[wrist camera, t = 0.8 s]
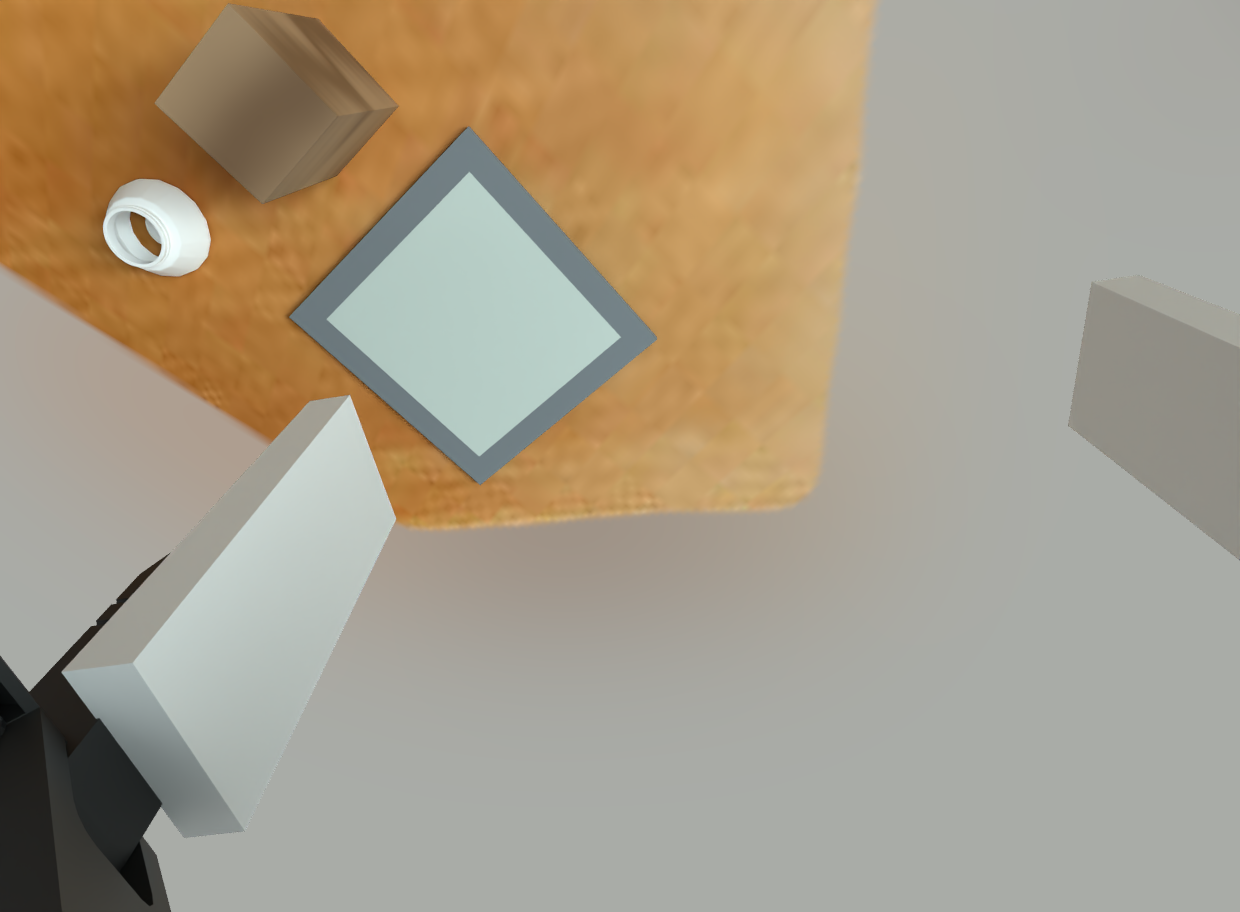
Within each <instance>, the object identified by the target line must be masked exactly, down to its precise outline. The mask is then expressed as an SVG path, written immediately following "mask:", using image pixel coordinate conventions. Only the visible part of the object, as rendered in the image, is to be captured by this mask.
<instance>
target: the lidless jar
mask: <svg viewBox="0 0 1240 912" xmlns="http://www.w3.org/2000/svg"><path fill="white" fill-rule="evenodd" d="M131 212H135V213H138V214H140V215H142V216H143V217H145V218H146V220H145V224H146V228H147V230H148V232H149V234H150V235H151V237H152V238H153V239H154V240H155V241H157V242H158V243H160V244H161V245H162V247H161V252H160V255H159V256H156V255H153V254H152V253H151V252H150V251H148V250H147V249H146V248H145V247H144V246H142V245H141V243H140V242H139V240H138V239H137V237H136V236H135V234H134V233H133V229H132V226H131V222H130V213H131ZM103 233H104V237H105V240H106V242H107V244H108V246H109V247H110V249H111V250H112V251H113V253H114V254H115V255H116V256H117V257H119V258H120V259H121V260H123V261H124V262H126V263H127V264H129V265H131V266H136V267H139V268H141V269H144V270H146V271H149V272H152V273H155V274H158V275H161V276H182V275H184V274H187V273H189V272H192V271H194V270H196V269H198V268H199V267H200V266H201V264H202V263H203V262H204V261H205V259H206V258H207V257H208V253H209V247H210V242H211V238H210V234H209V229H208V225H207V221H206V219H205V218H204V216H203V214H202V213H201V211H200V210H199V208H198V206H197V205H196V203H195V202H194V201H193V200H192V199H190V198H189V197H188V196H187V195H186V194H185V193H183V192H182V191H181V190H180V189H179V188H177V187H175V186H172V185H170V184H168V183H165V182H163V181H161V180H154V179H137V180H134V181H132V182H130V183H127V184H125V185H123V186H120V187H119V189H118V190H117V192H116V193H115V194H114V196H113V197H112V199H111V200H110V203H109V206H108V209H107V212H106V217H105V220H104V223H103Z"/></svg>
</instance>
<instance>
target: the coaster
mask: <svg viewBox="0 0 1240 912" xmlns="http://www.w3.org/2000/svg"><path fill="white" fill-rule="evenodd" d="M289 317H290V318H291V319H292V320H293V321H294V322H295V323H296V324H298V325H299V326H300V327H301V328H302V329H303V330H304V331H306V332H307V333H308V334H309V335H310V336H311V337H312V338H314V339H315V340H316V341H317V342H318V343H319V344H320V345H322V346H323V347H324V348H325V349H326V350H327V351H328V352H329V353H331V354H332V355H333V356H334V357H335V358H336V359H337V360H339V361H340V362H341V363H342V364H343V365H344V366H345V367H347V368H348V369H349V370H350V371H351V372H352V373H353V374H355V375H356V376H357V377H358V378H359V379H360V380H361V381H362V382H364V383H365V384H366V385H367V386H368V387H369V388H370V389H372V390H373V391H374V392H375V393H376V394H377V395H378V396H380V397H381V398H382V399H383V400H384V401H385V402H386V403H388V404H389V405H390V406H391V407H392V408H393V409H394V410H395V411H397V412H398V413H399V414H400V415H401V416H402V417H403V418H405V419H406V420H407V421H408V422H409V423H410V424H411V425H413V426H414V427H415V428H416V429H417V430H418V431H419V432H421V433H422V434H423V435H424V436H425V437H426V438H427V439H428V440H430V441H431V442H432V443H433V444H434V445H435V446H436V447H438V448H439V449H440V450H441V451H442V452H443V453H444V454H446V455H447V456H448V457H449V458H450V459H451V460H452V461H454V462H455V463H456V464H457V465H458V466H459V467H460V468H461V469H463V470H464V471H465V472H466V473H467V474H468V475H469V476H471V477H472V478H473V479H474V480H475V481H476V482H477V483H479V484H480V485H481V484H482V483H483V482H484V481H486V480H487V479H488V478H489V477H491V476H492V475H493V474H494V473H495V472H497V471H498V470H499V469H500V468H501V467H503V466H504V465H505V464H506V463H508V462H509V461H510V460H511V459H512V458H514V457H515V456H516V455H517V454H518V453H520V452H521V451H522V450H523V449H525V448H526V447H527V446H528V445H529V444H531V443H532V442H533V441H534V440H535V439H537V438H538V437H539V436H540V435H542V434H543V433H544V432H545V431H546V430H548V429H549V428H550V427H551V426H552V425H554V424H555V423H556V422H557V421H559V420H560V419H561V418H562V417H563V416H565V415H566V414H567V413H568V412H569V411H571V410H572V409H573V408H574V407H576V406H577V405H578V404H579V403H580V402H582V401H583V400H584V399H585V398H586V397H588V396H589V395H590V394H591V393H593V392H594V391H595V390H596V389H597V388H599V387H600V386H601V385H602V384H603V383H605V382H606V381H607V380H608V379H610V378H611V377H612V376H613V375H614V374H616V373H617V372H618V371H619V370H620V369H622V368H623V367H624V366H625V365H627V364H628V363H629V362H630V361H631V360H633V359H634V358H635V357H636V356H637V355H639V354H640V353H641V352H642V351H644V350H645V349H646V348H647V347H648V346H650V345H651V344H652V343H653V342H654V341H656V340H657V337H656V336H655V334H654V333H653V332H652V331H651V330H650V329H649V328H648V327H647V325H646V324H645V323H644V322H643V321H642V320H641V319H640V318H639V317H638V315H637V314H636V313H635V312H634V311H633V310H632V309H631V308H630V306H629V305H628V304H627V303H626V302H625V301H624V300H623V299H622V297H621V296H620V295H619V294H618V293H617V292H616V291H615V290H614V288H613V287H612V286H611V285H610V284H609V283H608V282H607V281H606V279H605V278H604V277H603V276H602V275H601V274H600V273H599V272H598V270H597V269H596V268H595V267H594V266H593V265H592V264H591V263H590V261H589V260H588V259H587V258H586V257H585V256H584V255H583V254H582V253H581V251H580V250H579V249H578V248H577V247H576V246H575V245H574V244H573V242H572V241H571V240H570V239H569V238H568V237H567V236H566V235H565V233H564V232H563V231H562V230H561V229H560V228H559V227H558V226H557V224H556V223H555V222H554V221H553V220H552V219H551V218H550V217H549V215H548V214H547V213H546V212H545V211H544V210H543V209H542V208H541V206H540V205H539V204H538V203H537V202H536V201H535V200H534V199H533V197H532V196H531V195H530V194H529V193H528V192H527V191H526V190H525V189H524V187H523V186H522V185H521V184H520V183H519V182H518V181H517V180H516V178H515V177H514V176H513V175H512V174H511V173H510V172H509V171H508V169H507V168H506V167H505V166H504V165H503V164H502V163H501V162H500V160H499V159H498V158H497V157H496V156H495V155H494V154H493V153H492V151H491V150H490V149H489V148H488V147H487V146H486V145H485V144H484V142H483V141H482V140H481V139H480V138H479V137H478V136H477V135H476V133H475V132H474V131H473V130H472V129H471V128H470V127H467V129H466V130H465V131H464V132H463V133H462V134H461V135H460V136H459V137H458V138H457V139H456V140H455V141H454V142H453V143H452V144H451V146H450V147H449V148H448V149H447V150H446V151H445V152H444V153H443V154H442V155H441V156H440V157H439V158H438V159H437V160H436V161H435V163H434V164H433V165H432V166H431V167H430V168H429V169H428V170H427V171H426V172H425V173H424V174H423V175H422V176H421V177H420V178H419V179H418V181H417V182H416V183H415V184H414V185H413V186H412V187H411V188H410V189H409V190H408V191H407V192H406V193H405V194H404V195H403V196H402V198H401V199H400V200H399V201H398V202H397V203H396V204H395V205H394V206H393V207H392V208H391V209H390V210H389V211H388V212H387V213H386V215H385V216H384V217H383V218H382V219H381V220H380V221H379V222H378V223H377V224H376V225H375V226H374V227H373V228H372V229H371V230H370V232H369V233H368V234H367V235H366V236H365V237H364V238H363V239H362V240H361V241H360V242H359V243H358V244H357V245H356V246H355V247H354V249H353V250H352V251H351V252H350V253H349V254H348V255H347V256H346V257H345V258H344V259H343V260H342V261H341V262H340V263H339V264H338V265H337V267H336V268H335V269H334V270H333V271H332V272H331V273H330V274H329V275H328V276H327V277H326V278H325V279H324V280H323V281H322V282H321V284H320V285H319V286H318V287H317V288H316V289H315V290H314V291H313V292H312V293H311V294H310V295H309V296H308V297H307V298H306V299H305V301H304V302H303V303H302V304H301V305H300V306H299V307H298V308H297V309H296V310H295V311H294V312H293V313H292V314H291V315H290V316H289Z"/></svg>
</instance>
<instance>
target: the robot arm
mask: <svg viewBox="0 0 1240 912" xmlns="http://www.w3.org/2000/svg"><path fill="white" fill-rule="evenodd" d="M1068 426H1069V427H1071V428H1072V429H1073V430H1074V431H1076V432H1077V433H1078V434H1080V435H1081V436H1082V437H1083V438H1085V439H1086V440H1087V441H1088V442H1090V443H1091V444H1092V445H1093V446H1095V447H1096V448H1097V449H1099V450H1100V451H1101V452H1103V453H1104V454H1105V455H1106V456H1107V457H1109V458H1110V459H1111V460H1113V461H1114V462H1115V463H1116V464H1118V465H1119V466H1120V467H1121V468H1123V469H1124V470H1125V471H1127V472H1128V473H1129V474H1130V475H1132V476H1133V477H1134V478H1136V479H1137V480H1138V481H1139V482H1141V483H1142V484H1143V485H1144V486H1146V487H1147V488H1148V489H1150V490H1151V491H1152V492H1153V493H1155V494H1156V495H1157V496H1158V497H1160V498H1161V499H1162V500H1164V501H1165V502H1166V503H1167V504H1169V505H1170V506H1171V507H1172V508H1174V509H1175V510H1176V511H1178V512H1179V513H1180V514H1181V515H1183V516H1184V517H1186V519H1188V520H1189V521H1190V522H1192V523H1193V524H1194V525H1196V526H1197V527H1198V528H1199V529H1200V530H1202V531H1203V532H1204V533H1206V534H1207V535H1208V536H1209V537H1211V538H1212V539H1214V540H1215V541H1216V542H1217V543H1218V544H1220V545H1221V546H1222V547H1223V548H1225V549H1226V550H1227V551H1229V552H1230V553H1231V554H1232V555H1234V556H1235V557H1236V558H1237V559H1239V560H1240V314H1237V313H1235V312H1232V311H1230V310H1227V309H1224V308H1222V307H1219V306H1217V305H1214V304H1212V303H1209V302H1206V301H1204V300H1201V299H1199V298H1196V297H1194V296H1191V295H1189V294H1186V293H1184V292H1181V291H1178V290H1176V289H1173V288H1171V287H1168V286H1166V285H1163V284H1161V283H1158V282H1155V281H1153V280H1150V279H1148V278H1145V277H1143V276H1140V275H1134V276H1128V277H1121V278H1114V279H1108V280H1101V281H1095V282H1092V283H1091V290H1090V296H1089V302H1088V308H1087V314H1086V320H1085V326H1084V332H1083V339H1082V344H1081V351H1080V356H1079V362H1078V368H1077V375H1076V381H1075V387H1074V393H1073V399H1072V405H1071V411H1070V417H1069V423H1068ZM395 521H396V517H395V515H394V512H393V509H392V507H391V504H390V501H389V499H388V496H387V493H386V491H385V488H384V485H383V483H382V480H381V477H380V475H379V472H378V469H377V467H376V464H375V461H374V459H373V456H372V453H371V451H370V448H369V445H368V443H367V440H366V437H365V434H364V432H363V429H362V426H361V424H360V421H359V418H358V416H357V413H356V410H355V408H354V405H353V402H352V400H351V397H350V395H347V396H341V397H334V398H328V399H321V400H315V401H309V403H308V404H307V405H306V406H305V407H304V408H303V409H302V410H301V411H300V412H299V413H298V415H297V416H296V417H295V418H294V419H293V420H292V421H291V422H290V423H289V424H288V425H287V427H286V428H285V429H284V430H283V431H282V432H281V433H280V434H279V435H278V436H277V437H276V439H275V440H274V441H273V442H272V443H271V444H270V445H269V446H268V447H267V448H266V450H265V451H264V452H263V453H262V454H261V455H260V456H259V457H258V458H257V459H256V461H254V463H253V464H252V465H251V466H250V467H249V468H248V469H247V470H246V471H245V472H244V473H243V475H242V476H241V477H240V478H239V479H238V480H237V481H236V482H235V483H234V485H232V487H231V488H230V489H229V490H228V491H227V492H226V493H225V494H224V495H223V496H222V497H221V499H220V500H219V501H218V502H217V503H216V504H215V505H214V506H213V507H212V508H211V509H210V511H209V512H208V513H207V514H206V515H205V516H204V517H203V518H202V519H201V520H200V521H199V523H198V524H197V525H196V526H195V527H194V528H193V529H192V530H191V531H190V532H189V533H188V534H187V536H186V537H185V538H184V539H183V540H182V541H181V542H180V543H179V544H178V545H177V546H176V548H175V549H174V550H173V551H172V552H171V553H169V554H168V555H166V556H165V557H164V558H162V559H161V560H159V561H158V562H156V563H155V564H154V565H152V566H151V567H149V568H148V569H147V570H145V571H144V572H142V573H141V574H140V575H139V576H138V577H137V578H136V579H135V580H134V581H133V582H132V583H131V584H130V585H129V586H128V588H127V589H126V590H125V591H124V592H123V593H122V594H121V595H120V596H119V597H118V598H117V604H113V605H111V606H110V607H109V608H108V609H107V610H106V611H105V612H104V613H103V614H102V615H101V616H100V617H99V619H97V620H96V622H97V625H96V626H91V627H90V628H89V629H88V630H87V631H86V632H85V633H84V634H83V635H82V636H81V638H80V639H79V640H78V641H77V642H76V643H75V644H74V645H73V646H72V647H71V648H70V649H69V650H68V651H67V652H66V653H65V655H64V656H63V657H62V658H61V659H60V660H59V661H58V662H57V663H56V664H55V665H54V666H53V667H52V668H51V669H50V671H49V672H48V673H47V674H46V675H45V676H44V677H43V678H42V679H41V680H40V681H39V682H38V683H37V684H36V686H34V688H33V689H32V690H31V691H30V692H28V690H27V689H26V688H25V687H24V685H23V684H22V683H21V681H20V680H19V679H18V678H17V676H16V675H15V674H14V673H13V671H12V670H11V669H10V668H9V666H8V665H7V664H6V662H5V661H4V660H3V659H2V657H1V656H0V912H171V910H170V906H169V902H168V898H167V894H166V890H165V887H164V883H163V879H162V875H161V871H160V867H159V863H158V859H157V855H156V854H155V852H154V851H153V850H152V848H151V847H150V846H149V845H148V843H147V842H146V840H145V839H144V838H143V837H142V836H143V834H144V833H145V831H146V830H147V828H148V827H149V825H150V823H151V821H152V820H153V818H154V817H155V815H156V813H157V812H158V810H159V809H160V807H162V808H163V810H164V811H165V813H166V814H167V815H168V817H169V818H170V819H171V821H172V822H173V823H174V825H175V826H176V828H177V829H178V830H179V832H180V833H181V834H182V836H183V837H184V838H187V837H196V836H206V835H214V834H224V833H232V832H242V831H245V830H246V828H247V826H248V824H249V822H250V820H251V818H252V816H253V813H254V812H255V809H256V807H257V805H258V803H259V801H260V799H261V797H262V795H263V793H264V791H265V789H266V787H267V785H268V783H269V780H270V779H271V776H272V774H273V772H274V770H275V768H276V766H277V764H278V762H279V760H280V758H281V756H282V754H283V752H284V750H285V747H286V745H287V743H288V741H289V739H290V737H291V735H292V733H293V731H294V729H295V727H296V725H297V723H298V721H299V719H300V717H301V714H302V712H303V710H304V708H305V706H306V704H307V702H308V700H309V698H310V696H311V694H312V692H313V690H314V688H315V686H316V684H317V682H318V679H319V677H320V675H321V673H322V671H323V669H324V667H325V665H326V663H327V661H328V659H329V657H330V655H331V653H332V651H333V648H334V646H335V644H336V642H337V640H338V638H339V636H340V634H341V632H342V630H343V628H344V626H345V624H346V622H347V620H348V618H349V615H350V613H351V611H352V609H353V607H354V605H355V603H356V601H357V599H358V597H359V595H360V593H361V591H362V588H363V586H364V585H365V582H366V580H367V578H368V576H369V574H370V572H371V570H372V568H373V566H374V564H375V562H376V560H377V558H378V556H379V554H380V551H381V549H382V547H383V545H384V543H385V541H386V539H387V537H388V535H389V533H390V530H391V529H392V527H393V525H394V523H395Z"/></svg>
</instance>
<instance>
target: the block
mask: <svg viewBox="0 0 1240 912" xmlns="http://www.w3.org/2000/svg"><path fill="white" fill-rule="evenodd" d="M155 104H156V105H157V106H158V107H159V108H160V109H161V110H162V111H163V112H164V113H165V114H166V115H167V116H168V117H170V118H171V119H172V120H173V121H174V122H175V123H176V124H177V125H178V126H179V127H180V128H181V129H182V130H183V131H185V132H186V133H187V134H188V135H189V136H190V137H191V138H192V139H193V140H194V141H195V142H196V143H197V144H198V145H200V146H201V147H202V148H203V149H204V150H205V151H206V152H207V153H208V154H209V155H210V156H211V157H212V158H213V159H215V160H216V161H217V162H218V163H219V164H220V165H221V166H222V167H223V168H224V169H225V170H226V171H227V172H228V173H230V174H231V175H232V176H233V177H234V178H235V179H236V180H237V181H238V182H239V183H240V184H241V185H242V186H243V187H245V188H246V189H247V190H248V191H249V192H250V193H251V194H252V195H253V196H254V197H255V198H256V199H257V200H259V201H260V202H261V203H262V204H264V203H266V202H269V201H272V200H274V199H277V198H280V197H282V196H285V195H287V194H290V193H293V192H295V191H298V190H301V189H303V188H306V187H309V186H311V185H314V184H316V183H319V182H322V181H324V180H327V179H330V178H332V177H335V176H337V175H338V174H339V173H340V172H341V171H342V169H343V168H344V167H345V166H346V165H347V164H348V163H349V162H350V160H351V159H352V158H353V157H354V156H355V155H356V154H357V153H358V151H359V150H360V149H361V148H362V147H363V146H364V145H365V144H366V142H367V141H368V140H369V139H370V138H371V137H372V136H373V135H374V133H375V132H376V131H377V130H378V129H379V128H380V127H381V126H382V124H383V123H384V122H385V121H386V120H387V119H388V118H389V117H390V115H391V114H392V113H393V112H394V111H395V110H396V109H397V108H398V105H397V104H396V103H395V102H394V100H393V99H392V98H391V97H390V96H389V95H388V94H387V93H386V92H385V91H384V90H383V89H382V87H381V86H380V85H379V84H378V83H377V82H376V81H375V80H374V79H373V78H372V77H371V76H370V74H369V73H368V72H367V71H366V70H365V69H364V68H363V67H362V66H361V65H360V64H359V63H358V61H357V60H356V59H355V58H354V57H353V56H352V55H351V54H350V53H349V52H348V51H347V50H346V48H345V47H344V46H343V45H342V44H341V43H340V42H339V41H338V40H337V39H336V38H335V37H334V35H333V34H332V33H331V32H330V31H329V30H328V29H327V28H326V27H325V26H324V25H323V24H322V22H321V21H320V20H319V19H316V18H310V17H304V16H298V15H293V14H287V13H281V12H275V11H270V10H264V9H258V8H252V7H246V6H241V5H235V4H229V3H228V4H227V6H226V7H225V8H224V10H223V11H222V13H221V14H220V15H219V17H218V18H217V19H216V21H215V22H214V23H213V25H212V26H211V27H210V29H209V30H208V31H207V33H206V34H205V35H204V37H203V38H202V40H201V41H200V42H199V44H198V45H197V46H196V48H195V49H194V50H193V52H192V53H191V54H190V56H189V57H188V58H187V60H186V61H185V63H184V64H183V65H182V67H181V68H180V69H179V71H178V72H177V73H176V75H175V76H174V77H173V79H172V80H171V81H170V83H169V84H168V85H167V87H166V88H165V90H164V91H163V92H162V94H161V95H160V96H159V98H158V99H157V100H156V102H155Z"/></svg>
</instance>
